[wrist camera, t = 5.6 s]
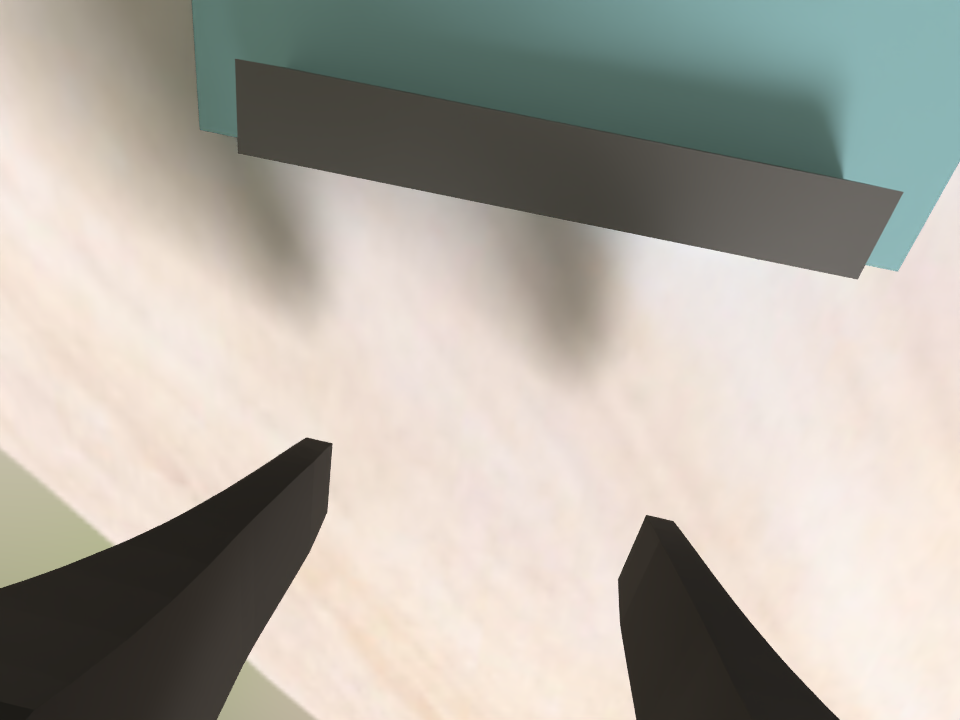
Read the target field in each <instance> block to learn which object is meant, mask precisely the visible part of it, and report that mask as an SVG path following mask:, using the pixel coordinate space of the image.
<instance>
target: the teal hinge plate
mask: <svg viewBox="0 0 960 720" xmlns="http://www.w3.org/2000/svg"><path fill="white" fill-rule="evenodd" d="M192 13H193V29H194V45H195V61H196V77H197V93H198V109H199V125H200V130H203V131H208V132H213V133H218V134H223V135H228V136H233V137H237V138H238V153H239V154H244V155H249V156H254V157H259V158H264V159H269V160H274V161H279V162H284V163H288V164H293V165H298V166H303V167H308V168H313V169H318V170H323V171H328V172H333V173H338V174H342V175H347V176H352V177H357V178H362V179H367V180H372V181H377V182H382V183H387V184H392V185H397V186H401V187H406V188H411V189H416V190H421V191H426V192H431V193H436V194H441V195H446V196H451V197H455V198H460V199H465V200H470V201H475V202H480V203H485V204H490V205H495V206H500V207H505V208H510V209H514V210H519V211H524V212H529V213H534V214H539V215H544V216H549V217H554V218H559V219H564V220H569V221H573V222H578V223H583V224H588V225H593V226H598V227H603V228H608V229H613V230H618V231H623V232H627V233H632V234H637V235H642V236H647V237H652V238H657V239H662V240H667V241H672V242H677V243H682V244H686V245H691V246H696V247H701V248H706V249H711V250H716V251H721V252H726V253H731V254H736V255H740V256H745V257H750V258H755V259H760V260H765V261H770V262H775V263H780V264H785V265H790V266H795V267H799V268H804V269H809V270H814V271H819V272H824V273H829V274H834V275H839V276H844V277H849V278H853V279H858V278H859V276H860V274H861V272H862V270H863V268H864V266H865V265H869V266H873V267H878V268H883V269H888V270H893V271H898V270H899V268H900V267H901V265H902V263H903V261H904V259H905V258H906V256H907V254H908V252H909V251H910V249H911V247H912V245H913V243H914V242H915V240H916V238H917V236H918V235H919V233H920V231H921V229H922V227H923V226H924V224H925V222H926V220H927V219H928V217H929V215H930V213H931V211H932V210H933V208H934V206H935V204H936V202H937V201H938V199H939V197H940V195H941V194H942V192H943V190H944V188H945V186H946V185H947V183H948V181H949V179H950V178H951V176H952V174H953V172H954V170H955V169H956V167H957V165H958V163H959V162H960V0H192Z"/></svg>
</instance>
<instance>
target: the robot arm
mask: <svg viewBox="0 0 960 720" xmlns="http://www.w3.org/2000/svg"><path fill="white" fill-rule="evenodd" d="M331 456H332V443H328V442H324V441H319V440H315V439H311V438H305V439H303V440H302V441H300V442H298V443H297V444H295V445H294V446H292V447H291V448H289V449H288V450H286V451H285V452H283V453H282V454H280V455H279V456H277V457H276V458H274V459H273V460H271V461H270V462H268V463H266V464H265V465H263V466H262V467H260V468H259V469H257V470H256V471H254V472H253V473H251V474H249V475H248V476H246V477H245V478H243V479H241V480H240V481H238V482H237V483H235V484H233V485H232V486H230V487H229V488H227V489H225V490H224V491H222V492H220V493H219V494H217V495H215V496H213V497H212V498H210V499H208V500H206V501H204V502H203V503H201V504H199V505H197V506H196V507H194V508H192V509H190V510H189V511H187V512H185V513H183V514H181V515H179V516H177V517H175V518H174V519H172V520H170V521H168V522H166V523H164V524H162V525H160V526H157V527H155V528H153V529H151V530H149V531H147V532H145V533H143V534H140V535H138V536H136V537H134V538H132V539H130V540H127V541H125V542H123V543H120V544H118V545H116V546H113V547H111V548H108V549H106V550H103V551H101V552H98V553H96V554H93V555H91V556H89V557H86V558H83V559H81V560H79V561H76V562H74V563H71V564H69V565H66V566H63V567H61V568H58V569H55V570H53V571H50V572H47V573H45V574H41V575H39V576H36V577H33V578H30V579H27V580H24V581H22V582H18V583H15V584H12V585H9V586H6V587H3V588H0V720H217V718H218V715H219V714H220V712H221V709H222V708H223V706H224V703H225V701H226V699H227V697H228V695H229V693H230V691H231V689H232V686H233V685H234V683H235V680H236V679H237V676H238V675H239V672H240V670H241V668H242V666H243V664H244V663H245V661H246V659H247V657H248V655H249V654H250V652H251V650H252V648H253V646H254V644H255V643H256V641H257V639H258V638H259V636H260V634H261V633H262V631H263V629H264V628H265V626H266V624H267V623H268V621H269V619H270V618H271V616H272V614H273V613H274V611H275V609H276V608H277V606H278V604H279V603H280V601H281V599H282V598H283V596H284V594H285V593H286V591H287V589H288V588H289V586H290V584H291V583H292V581H293V579H294V578H295V576H296V574H297V573H298V571H299V569H300V567H301V566H302V564H303V562H304V561H305V559H306V557H307V555H308V554H309V552H310V550H311V548H312V545H313V543H314V541H315V539H316V537H317V534H318V532H319V530H320V528H321V525H322V523H323V521H324V518H325V516H326V514H327V509H328V496H329V482H330V469H331ZM618 589H619V612H620V626H621V633H622V639H623V645H624V651H625V657H626V663H627V668H628V674H629V680H630V686H631V691H632V697H633V703H634V708H635V714H636V720H840V719H839V718H838V717H836V716H835V715H834V714H833V713H832V712H831V711H830V710H829V709H828V708H827V707H826V706H825V705H824V704H823V702H822V701H821V700H820V699H819V698H818V697H817V696H816V695H815V694H814V693H813V692H812V691H811V690H810V689H809V688H808V687H807V686H806V685H805V684H804V683H803V681H802V680H801V679H800V678H799V677H798V676H797V675H796V674H795V673H794V672H793V671H792V670H791V669H790V668H789V666H788V665H787V664H786V663H785V662H784V661H783V660H782V659H781V658H780V656H779V655H778V654H777V653H776V652H775V651H774V650H773V648H772V647H771V646H770V645H769V644H768V642H767V641H766V640H765V639H764V638H763V637H762V635H761V634H760V633H759V632H758V631H757V629H756V628H755V627H754V626H753V625H752V623H751V622H750V621H749V620H748V619H747V617H746V616H745V615H744V614H743V612H742V611H741V610H740V609H739V607H738V606H737V605H736V604H735V602H734V601H733V600H732V598H731V597H730V596H729V595H728V593H727V592H726V591H725V589H724V588H723V587H722V585H721V584H720V583H719V581H718V580H717V579H716V577H715V576H714V575H713V573H712V572H711V571H710V569H709V568H708V567H707V565H706V564H705V563H704V561H703V560H702V559H701V557H700V556H699V555H698V553H697V552H696V550H695V549H694V548H693V546H692V545H691V544H690V542H689V541H688V540H687V538H686V537H685V536H684V534H683V533H682V532H681V530H680V529H679V528H678V526H677V525H676V524H675V523H674V521H670V520H666V519H662V518H657V517H653V516H648V515H646V517H645V519H644V521H643V524H642V526H641V528H640V531H639V533H638V535H637V537H636V540H635V542H634V544H633V547H632V549H631V551H630V553H629V556H628V558H627V560H626V562H625V565H624V567H623V569H622V572H621V574H620V576H619V578H618Z"/></svg>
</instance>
